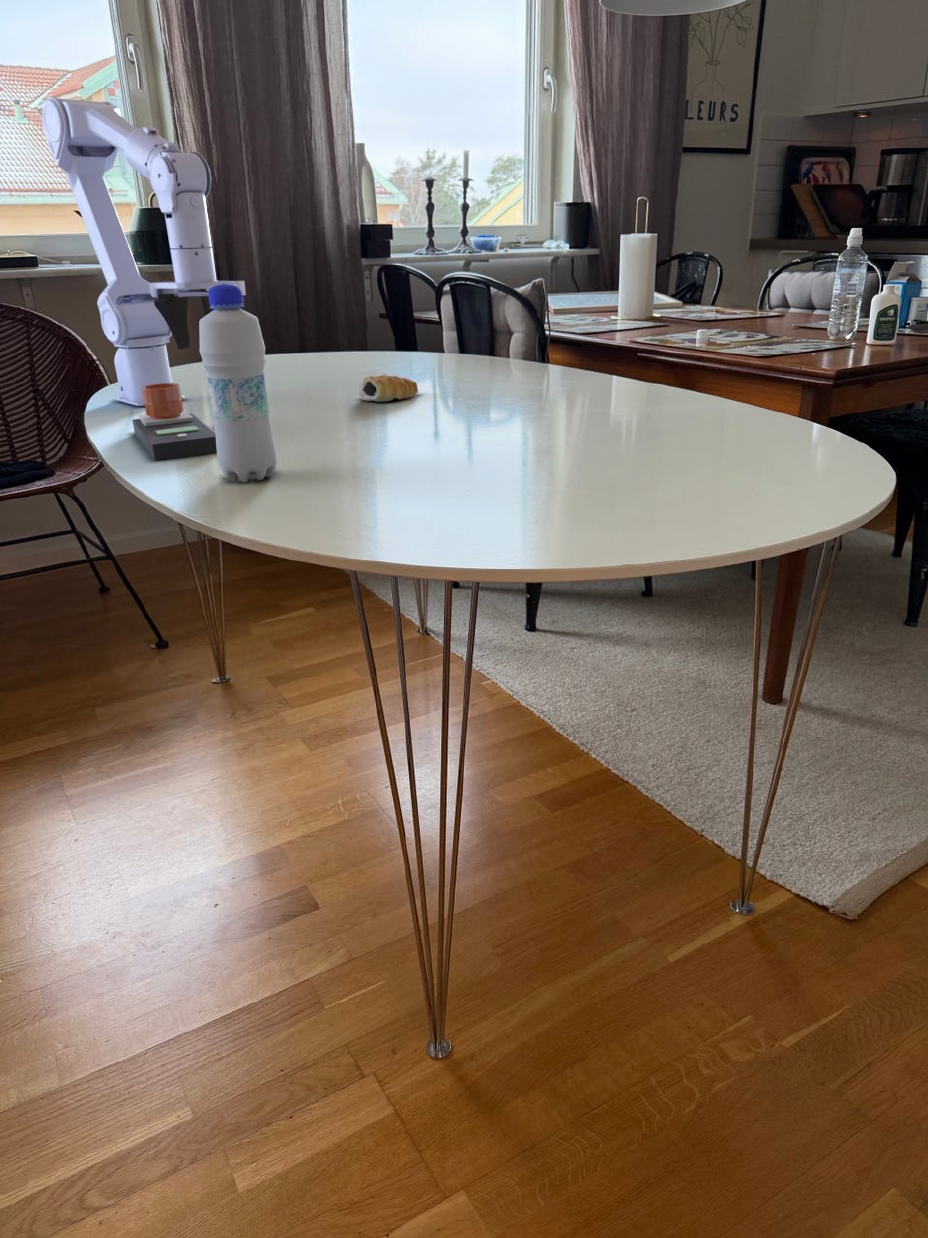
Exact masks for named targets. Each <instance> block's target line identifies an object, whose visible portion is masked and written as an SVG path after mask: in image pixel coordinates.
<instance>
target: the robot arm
mask: <svg viewBox="0 0 928 1238" xmlns="http://www.w3.org/2000/svg"><path fill="white" fill-rule="evenodd" d="M41 111H42V112H41V115H42V125H41V126H42V131H43V134H44V136H45V139H46V141H47V144H48V146H49V149H50V152H51V155H52V157H53V159H54V161H55V165H56V166H57V167H58V168H59V169H61V170H62V171H64V173H65V176H66V178H67V182H68V183H69V186H70V189H71V192H72V194H73V197H74V199H75V202H76V205H77V208H78V209H79V213H80V215H81V217H82V221H83V223H84V225H85V228H86V231H87V233H88V237H89V240H90V242H91V244H92V246H93V250H94V252H95V255H96V258H97V260H98V263H99V265H100V269H101V270H102V273H103V276H104V279H105V281H106V284H107V286H106V287H105V288H104V290H103V291H102V292H101V293H100V295H99V296H98V299H97V302H96V304H97V309H98V310H99V311H98V312H99V316H100V323H101V328H102V331H103V333H104V335H105V337H106V338H107V339H108V340H109V342H111V344H113V347H115V348H118V349H117V350H116V352H115V355H114V360H113V363H114V368H115V373H116V378H117V383H118V388H119V394H120V396H116V397H115V400H116V401H118V402H120V403H121V402H122V403H126V404H129V405H132V406H137V407H145V404H144V399H143V394H142V388H141V387H143V386H146V385H151V384H160V383H173V380H172V373H171V367H170V362H169V355H168V350H167V349H168V348H167V344H169V343H170V338H171V337H173V339H174V341H175V344H176V347H177V349H178V350H184V349H189V348H190V346H191V345H190V344H191V341H190V334H189V333H190V332H189V326H188V302H189V297H209V290H210V289H211V288H212V287H214V286H217V285H221V284H229V285H234V286H237V287H239V288H240V290H241V292H242V295H243V296H246V295H247V291H246V284H245V280H217V274H216V267H215V261H214V253H213V252H214V251H213V245H212V238H211V231H210V225H209V224H210V223H209V215H208V210H207V202H206V201H207V200H206V198H207V197H208V196H209V194H210V192H211V189H212V174H211V169H210V166H209V164H208V161H207V160H206V159H205V158H204V156H202V154H201V153H200V152H199V151H190V152H184V151H183V150H181V149H179V148H178V145H177V144H176V143H175V142H173V141H169V140H166V139H165V138H163V137H162V136H160V135H159V130H158V129H157V128H156V127H154V126H146V125H145V126H143V127H138V128H136V127H134V125H132V124H131V123H130V122H129V121H128V120H127V119H125V118H124V117H123V116H122V114H121V111H120V108H119V107H118V105H114V104H113V103H112V102H110V101H108V100H103V101H94V100H93V101H92V100H82V99H81V100H80V99H70V98H58V97H56V96H49V97H47V98H46V99H45V101H44V103H43V106H42V110H41ZM118 151H121V152H123V153H124V157H125V160H126V162H127V163H128V165H129V167H131V168H132V169H134V170H135V171H136V172H138V173H139V174H141V175H142V176H143V177H145V178H146V179H147V180H148V181H149V183H150V185H151V188H152V190H153V192H154V194H155V196H156V198H157V201H158V207H159V209H160V212H161V213H162V214H164V219H165V225H166V231H167V237H168V244H169V251H170V257H171V264H172V269H173V275H174V281H156V282H149V281H147V280H146V279H144V278H143V277H142V276H141V275H140V271H139V269H138V266H137V264H136V261H135V258H134V256H133V255H134V254H133V253H132V250H131V248H130V244H129V242H128V239H127V236H126V234H125V231H124V228H123V226H122V223H121V221H120V217H119V216H118V215H119V214H118V212H117V210H116V207H115V205H114V201H113V199H112V196H111V194H110V192H109V189H108V186H107V184H106V180H105V177H104V176H105V174H106V173H107V172H108V171H110V170H112V169H113V168H114V165H115V161H116V159H117V156H118ZM190 290H205V291H201V292H200V291H192V292H191V291H190ZM189 291H190V292H189ZM243 303H244V304H245V298H244V297H243ZM240 309H242V310H243V307H240ZM213 310H215V309H213ZM181 399H182V401H183V400H185V396H183V395H181Z"/></svg>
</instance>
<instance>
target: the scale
mask: <svg viewBox="0 0 928 1238" xmlns="http://www.w3.org/2000/svg"><path fill="white" fill-rule="evenodd" d="M183 411H184V412H183V413H181V414H182V415H181V416H179V417H176V418H170V419H151V418H149V416H147V415H146V413H143V414H139V415H138V416H137V417H138V418H134V419H131V421H132V426H133V432H134V435H135V436H136V437H137V439H138V440H139V441H140V443H141V444H142V446H143V447H144V448H145V449H146V450H147V452H148V454H149V455H150V456H151V458H153V460H154V461H155V462H156V461H164V460H165V461H166V460H172V459H178V458H187V457H194V456H201V455H209V454H217V448H216V435H215V431H213V429H211V428H210V427H209V426H208V425H206V424H205V423H204V422H203V421H202V420H201V419H199V418H198V417H197V416H195V414H193V413H192V412H188V411H186V410H185V409H183Z"/></svg>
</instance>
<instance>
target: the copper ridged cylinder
mask: <svg viewBox="0 0 928 1238" xmlns="http://www.w3.org/2000/svg"><path fill="white" fill-rule="evenodd" d="M141 388H142V394H143V399H144V404H145V406H144V409H145V414H146V415H147V416H149V418H151V419H170V418H176V417H179V416H181V415H182V414H181V413H183V412H184V411H183V410H184V405H183V400H182V399H181V396H182V393H181V387H180V384H179V383H176V382H175V383H174V382H172V383H160V384H151V385H146V386H143V387H141Z"/></svg>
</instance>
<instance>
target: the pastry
mask: <svg viewBox="0 0 928 1238" xmlns="http://www.w3.org/2000/svg"><path fill="white" fill-rule="evenodd" d="M418 393H419V388H418V383H417V382H416V381H413V380H411V379H410V378H408V377H401V376H399V375H398V376H397V375H390V374H381V375H375V376H371V375H370V376H366V377H365V378H364V379H363V380H362V383H361V385H360V389H359V396H360V397H361V399H362V401H366V402H371V401H374V402H377V403H378V402H384V403H386V402H389V401H393V400H394V399H398V400H403V399H408V398H409V399H410V398H413V397H414V396H416V395H417V394H418Z"/></svg>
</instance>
